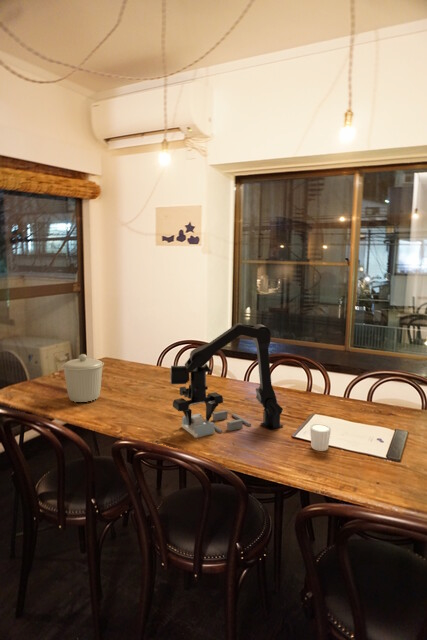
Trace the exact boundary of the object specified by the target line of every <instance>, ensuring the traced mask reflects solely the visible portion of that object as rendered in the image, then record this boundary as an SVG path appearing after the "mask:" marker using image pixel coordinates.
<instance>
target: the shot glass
mask: <svg viewBox="0 0 427 640" xmlns="http://www.w3.org/2000/svg"><path fill="white" fill-rule="evenodd" d="M309 429H310V444H311V445H310V446H311V448H312V449H313V450H315V451H321V452H323V451H327V450H328V449H329V446H330V445H329V444H330V438H331V430H332V429H331V427H330V426H328V425H326V424H320V423H319V424H317V423H316V424H312V425H310V428H309Z"/></svg>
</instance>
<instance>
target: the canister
mask: <svg viewBox="0 0 427 640" xmlns="http://www.w3.org/2000/svg"><path fill="white" fill-rule="evenodd" d="M104 365H105V362H103V361H101V360H100V359H97V358H90V357H89V358H88V355H86V353H81V354H79V356H78V358H76V359H75V358H73V359H70V360H68V361H66V362H65V363H63V364H62V365H61V368H62V369H63V373H64V378H65V380H64V381H65V386H66V390H67V396H68V399H69V400H70V401H71V402H73V401H74V402H73V403H76V402H87V401H91V402H93V401H92V400H94V401H96V400H97V399H98V398H99V397H100V394H101V387H102V377H103V376H102V375H103V366H104ZM95 399H96V400H95ZM87 403H88V402H87Z"/></svg>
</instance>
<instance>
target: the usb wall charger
mask: <svg viewBox="0 0 427 640" xmlns="http://www.w3.org/2000/svg"><path fill="white" fill-rule="evenodd" d="M204 419H205V418H204V416H202V415H201V416H199V415H196V416H192V417H191V425H190V426H189V425H188V427H189V428H191V429H193V430H194V426H197V425H202V424H204V423H205V422H206V420H204Z"/></svg>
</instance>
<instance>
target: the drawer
mask: <svg viewBox="0 0 427 640" xmlns="http://www.w3.org/2000/svg"><path fill="white" fill-rule="evenodd" d="M196 415H199V416H202V414H201V413H194V414H191V417H192V416H196ZM181 418H182V419H181V428H182V429H184V430H185V431H186V432H187V433H189V435H191V436H192V437H194V438H195V439H198V438H201V437H207V436H209V435H210V436H211V435H215V434H216V430H215V429H214V425H215V422H213V421H212V422H211V421H210V422H211V423H207V424H206V423H205V422H204V424H202V425H197V426H194V430H193V429H191V428H189V427H188V423H187V420H186V417H185V415H184V416H182V417H181Z"/></svg>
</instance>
